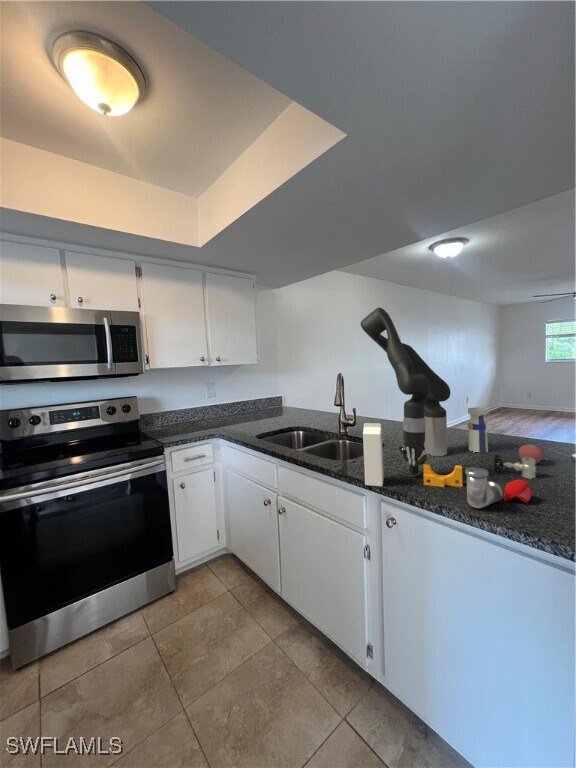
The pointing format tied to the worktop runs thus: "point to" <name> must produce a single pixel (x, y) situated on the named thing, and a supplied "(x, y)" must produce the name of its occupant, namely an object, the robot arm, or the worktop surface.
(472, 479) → the duct elbow
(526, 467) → the valve
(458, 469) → the pipe clamp
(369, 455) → the milk
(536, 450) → the apple
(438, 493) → the worktop surface
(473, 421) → the water bottle
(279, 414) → the worktop surface
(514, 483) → the cap
